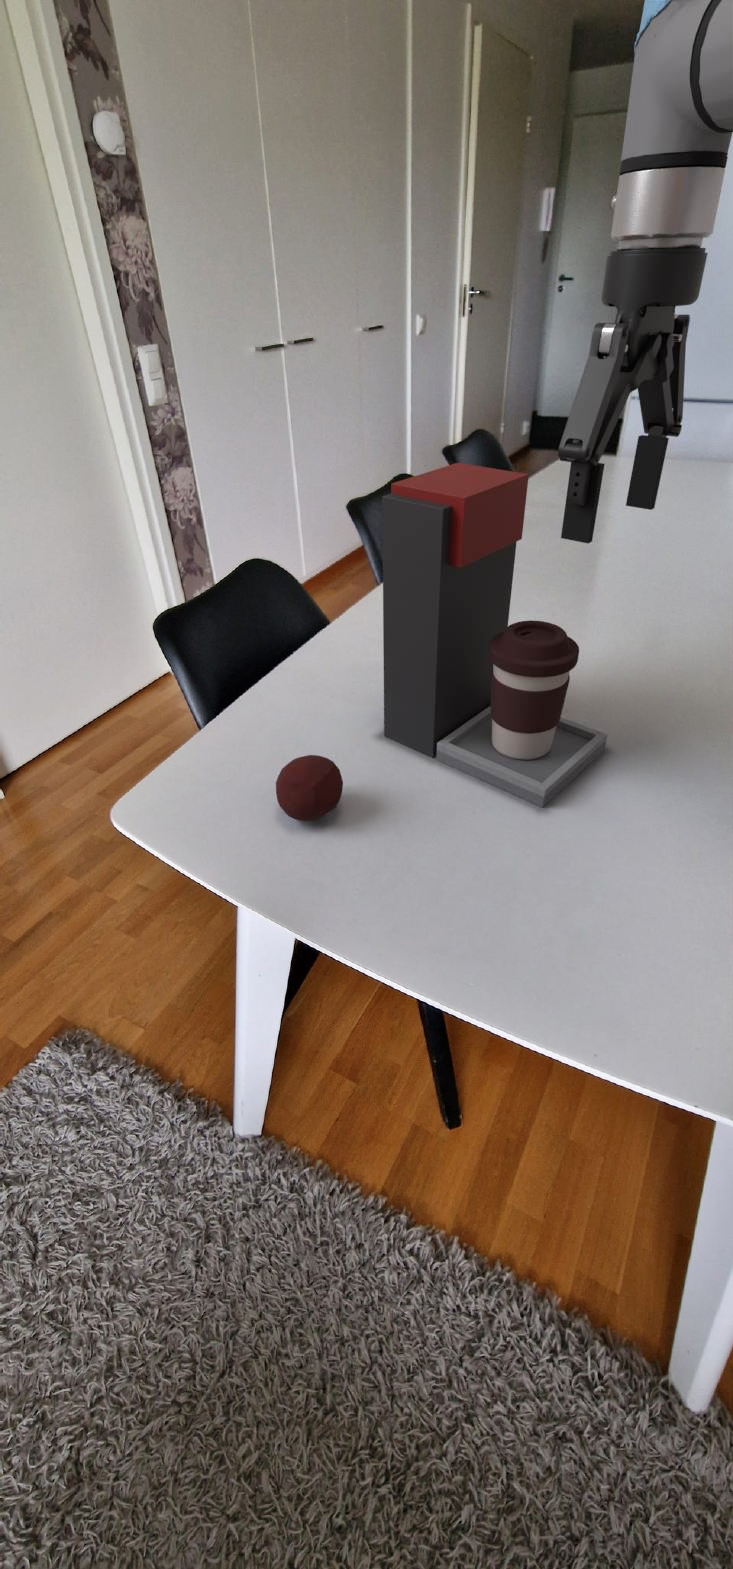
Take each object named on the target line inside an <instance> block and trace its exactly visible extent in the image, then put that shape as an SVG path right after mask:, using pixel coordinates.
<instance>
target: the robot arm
mask: <svg viewBox="0 0 733 1569" xmlns="http://www.w3.org/2000/svg"><path fill="white" fill-rule="evenodd" d="M642 10H643V11H642V13H641V14H642V15H641V21H640V25H639V30H638V31H639V32H638V33H637V34H636V39H635V40H636V41H634V48H633V49H634V50H633V54H634V57H633V58H634V59H633V65H632V67H633V68H632V74H631V82H630V88H629V90H630V91H629V95H628V96H629V97H628V104H627V113H626V121H625V128H624V136H623V143H622V150H621V159H620V170H619V176H618V182H617V190H616V194H615V195H614V196H613V197H612V200H611V204H610V205H611V207H612V209H613V210H614V211H613V218H612V223H611V224H612V225H611V231H610V238H611V240H612V241H613V242H617V244H616V250H611V251H610V253H609V255H607V256H606V261H605V268H604V269H605V270H604V277H603V284H602V291H601V303H602V304H603V305H604V306H605V307H610V308H611V307H614V308H616V315H615V319H614V322H596V323H595V325H594V327H593V330H592V335H591V340H590V345H589V346H590V347H589V352H588V357H587V359H586V363H585V366H584V369H583V372H582V375H581V378H580V381H579V384H578V388H577V390H576V394H575V396H574V399H573V403H572V406H571V409H570V412H569V415H568V417H567V421H566V424H565V428H564V430H563V434H562V437H561V440H560V443H559V446H558V449H557V455H558V457H559V461H561V462H567V463H570V467H569V468H570V469H569V476H568V482H567V489H566V490H567V491H566V497H565V504H564V510H563V511H564V512H563V519H562V526H561V535H560V539H564V540H567V541H574V542H578V543H583V544H590V543H593V538H594V532H595V527H596V520H597V513H598V506H599V501H600V494H601V490H602V482H603V476H604V470H605V463H602V462H600V460H601V458H602V456H603V453H604V452H605V449H606V448H607V445H608V443H609V440H610V438H611V437H612V434H613V432H614V430H615V428H616V426H617V423H618V421H619V419H620V416H621V414H622V413H623V410H624V407H625V405H626V403H627V402H628V401H627V400H628V398H629V396H630V395H631V393H632V392H634V391H636V390H637V394H638V401H639V406H640V407H639V408H640V413H641V414H640V415H641V419H642V426H643V432H644V434H645V435H644V434H641V435H638V437H637V442H636V449H635V453H634V458H633V459H634V460H633V466H632V469H631V474H630V481H629V485H628V491H627V496H626V502H625V506H626V507H630V508H631V507H632V508H638V509H644V510H650V511H652V510H654V509H655V507H656V502H657V499H658V498H657V497H658V492H659V488H660V483H661V477H662V473H663V468H664V464H665V459H666V453H667V448H668V444H669V439H670V438H669V437H674V438H675V437H676V438H678V437H679V436H680V435H681V433H682V432H681V431H682V428H683V424H681V423H682V421H683V418H684V417H683V415H684V396H685V373H686V350H687V347H686V346H687V340H688V339H687V338H688V334H689V333H688V332H689V327H690V323H691V316H690V314H676V307H683V306H692V305H693V304H695V303H696V302H697V301H698V299H699V297H700V292H701V288H702V282H703V277H704V273H705V268H706V263H707V258H708V252H706V250H707V248H706V247H702V245H703V240H704V239H707V238H709V237H710V236H712V235H713V233H714V227H715V223H716V218H717V214H718V213H717V212H718V208H719V203H720V198H721V193H722V188H723V183H724V178H725V173H726V169H725V168H726V167H727V162H728V158H729V156H728V155H729V149H730V145H731V141H732V136H733V0H644V4H643V8H642ZM646 434H647V435H646Z"/></svg>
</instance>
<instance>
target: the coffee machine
mask: <svg viewBox="0 0 733 1569" xmlns="http://www.w3.org/2000/svg"><path fill="white" fill-rule="evenodd" d="M529 475H530V474H529V473H525V472H518V471H513V470H505V469H498V468H492V467H488V466H480V465H475V464H469V463H468V464H467V463H462V462H455V463H453V464H449V465H446V466H442V467H439V468H435V469H433V470H430V471H427V472H423V473H420V474H416V475H415V476H414V475H413V476H411V477H408V478H404V479H402V480H398V481H395V482H392V483H391V484H390V485H391V488H390V489H391V490H390V491H391V492H390V493H389V494H386V495H383V496H381V499H382V500H381V503H382V504H381V505H382V509H381V510H382V511H381V512H382V516H381V517H382V521H381V522H382V625H383V626H382V629H383V630H382V632H383V633H382V634H383V636H382V638H383V643H382V644H383V735H384V737H385V738H388V739H389V740H392V741H394V742H396V743H399V744H401V745H403V746H404V747H405V746H406V747H408V748H410V749H411V750H414V751H416V752H418V753H421V754H423V755H425V756H427V757H430V758H431V759H435V758H436V761H439V762H440V763H444V764H445V765H447V766H449V767H452V768H454V769H456V770H459V771H461V772H463V773H465V774H467V775H469V776H472V777H474V778H476V779H478V780H481V781H483V782H485V783H487V784H489V785H492V786H494V787H496V788H498V789H500V790H503V791H505V792H507V793H510V794H512V795H514V796H516V797H518V798H520V799H523V800H525V801H527V802H529V803H532V804H533V805H536V806H538V807H541V808H544V807H545V806H546V805H547V804H548V803H550V801H552V800H553V799H554V798H555V797H556V796H557V795H558V794H559V793H560V792H561V791H562V790H563V789H564V788H565V787H566V786H568V785H569V784H570V783H571V782H572V781H573V780H574V779H575V778H576V777H577V776H579V775H580V773H582V772H583V771H584V770H585V769H586V768H587V767H588V766H589V765H590V764H591V763H593V761H595V760H596V759H597V758H598V757H599V756H600V755H601V754H603V752H605V748H606V742H607V739H608V733H605V732H602V731H600V730H597V729H594V728H591V727H589V726H585V725H583V724H581V723H578V722H575V721H572V720H569V719H567V718H565V717H562V716H561V717H560V721H559V723H558V724H557V726H556V730H555V734H554V738H553V742H552V746H551V749H550V750H549V752H548V753H546V754H545V755H544V756H542V757H539V758H536V759H531V760H521V759H514V758H510V757H507V756H505V755H503V754H501V753H500V752H498V751H497V750H496V749H495V747H494V746H493V743H492V717H491V671H492V668H493V663H492V662H491V661H490V659H489V655H488V654H489V643H490V641H491V639H492V638H493V637H494V636H495V635H497V634H499V633H500V632H503V631H505V629H506V628H507V627H508V626H509V620H510V609H511V600H512V599H511V598H512V590H513V579H514V572H515V571H514V570H515V563H516V562H515V561H516V553H517V552H516V551H517V543H518V542H519V541H520V540H522V539H523V533H524V532H523V531H524V524H525V523H524V522H525V514H526V512H525V511H526V504H527V494H528V486H529V478H530V477H529Z"/></svg>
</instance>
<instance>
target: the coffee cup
mask: <svg viewBox="0 0 733 1569" xmlns="http://www.w3.org/2000/svg"><path fill="white" fill-rule="evenodd" d="M488 655H489V659H490V661H491V662H492V663H493V668H492V671H491V717H492V743H493V746H494V747H495V749H496V750H497V751H498V752H500V753H501V754H503V755H505V756H507V757H510V758H514V759H521V760H531V759H536V758H539V757H542V756H544V755H545V754H546V753H548V752H549V750H550V749H551V746H552V742H553V738H554V734H555V730H556V726H557V724H558V723H559V721H560V717H562V713H563V709H564V704H565V700H566V697H567V693H568V689H569V685H570V679H571V677H570V671H572V670H573V669H574V668H575V667H576V666H577V664H578V661H579V655H580V646H579V644H578V643H577V642H576V641H575V640H574V639H573V638H571V637H570V636H568V634H567V632H566V630H565V629H564V628H562V627H561V626H559V625H557V624H555V623H551V622H548V621H543V620H522V621H521V620H520V621H517V622H513V623H512V624H511V623H510V624H508V627H507V628H506V629H505V631H503V632H500V633H499V634H497V635H495V636H494V637H493V638H492V639H491V641H490V643H489V654H488Z"/></svg>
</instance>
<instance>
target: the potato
mask: <svg viewBox="0 0 733 1569" xmlns="http://www.w3.org/2000/svg"><path fill="white" fill-rule="evenodd" d="M343 786H344V780H343V777H342V773H341V770H340V769H339V767H338V766H337V765H336V764H335V762H334V761H333V760H332V759H330V758H328V757H325V756H321V755H317V754H308V755H304V756H299V757H296V758H294V759H292V760H291V761H289V762H288V763H286V764H285V766H283V767H282V768H281V769H280V772H279V773H278V775H277V778H276V781H275V793H276V801H277V803H278V805H279V807H280V809H281V810H282V811H283V812H284V814H285V815H287V817H289V818H291V819H294V820H296V821H300V822H313V821H315V820H319V819H321V818H323V817H325V816H327V815H328V814H329V813H331V812H332V811H333V810H334V809H336V807H337V805H338V804H339V802H340V800H341V797H342V794H343V788H344V787H343Z"/></svg>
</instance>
